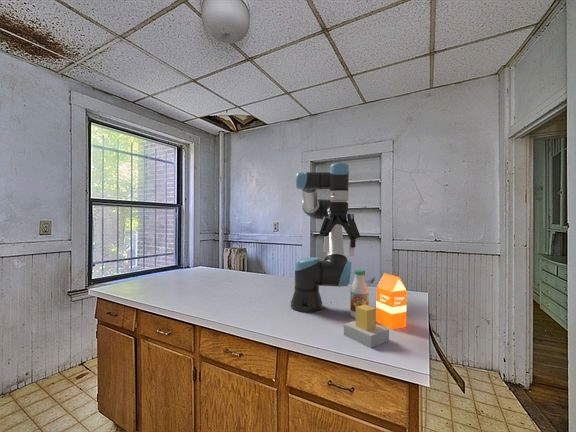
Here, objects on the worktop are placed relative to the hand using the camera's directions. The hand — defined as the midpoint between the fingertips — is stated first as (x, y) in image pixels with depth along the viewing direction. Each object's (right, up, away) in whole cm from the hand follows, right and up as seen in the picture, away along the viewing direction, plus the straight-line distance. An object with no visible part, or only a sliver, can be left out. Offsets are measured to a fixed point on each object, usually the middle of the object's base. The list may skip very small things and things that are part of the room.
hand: (338, 253), depth 113 cm
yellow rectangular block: (+7, -24, -14) cm, 29 cm away
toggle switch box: (+7, -28, -14) cm, 32 cm away
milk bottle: (+11, -29, +8) cm, 32 cm away
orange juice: (+21, -29, 0) cm, 36 cm away
